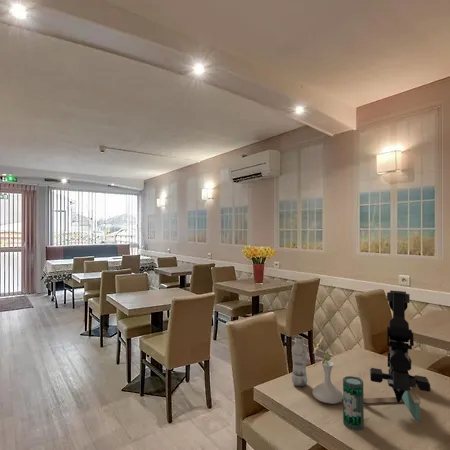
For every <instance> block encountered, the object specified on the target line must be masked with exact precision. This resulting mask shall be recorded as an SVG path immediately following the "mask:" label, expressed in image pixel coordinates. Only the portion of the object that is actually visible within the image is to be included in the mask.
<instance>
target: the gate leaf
mask: <svg viewBox="0 0 450 450" xmlns="http://www.w3.org/2000/svg"><path fill="white" fill-rule="evenodd" d="M410 388H411V387H410ZM402 399H403V401H404V403H403V404H405V406H406V408H407V409H408V411H409V413H410V415H411V416H412V418H413V420H414V421H415V422H417V423H418V422H419V423H420V419H421V418H420V417H421V416H420V414H421V413H420V412H421V411H420V408H421V407H420V404H421V399H420V398H419V396H418V395H417V393H416V392H415V390H414V389H413V388H411V389H410V390H408V391H405V392H404V394H403V396H402Z"/></svg>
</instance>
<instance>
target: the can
mask: <svg viewBox="0 0 450 450" xmlns="http://www.w3.org/2000/svg"><path fill="white" fill-rule="evenodd" d="M360 378H361V377H360ZM360 378H357V376H352V375H348V376H345V377H343V378H342V395H343V399H342V400H343V401H342V402H343V403H342V407H343V408H342V409H343V410H342V411H343V412H342V413H343V415H342V419H343V425H344V426H345V427H346V428H347V429H349V430H353V431H362V430H364V426H365V425H364V422H365V421H364V420H365V419H364V417H365V416H364V415H365V413H364V405H363V398H364V381H362V380H363V379H362V378H361V379H362V380H361V379H360Z"/></svg>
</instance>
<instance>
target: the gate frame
mask: <svg viewBox="0 0 450 450" xmlns="http://www.w3.org/2000/svg"><path fill="white" fill-rule="evenodd" d="M356 377H357V376H356ZM357 378H360V379H361V380H362V381H363V380H364V379H362V378H361V377H357ZM363 382H364V381H363ZM387 404H389V405H390V404H391V405H393V404H405V403H404V401H403V399H402V398H401V400H400V402H399V403H398V402H397V399H396V396H390V397H387V396H386V397H370V398H369V397H368V398H367V397H366V398H365V397H363V406H364V405H365V406H368V405H387Z"/></svg>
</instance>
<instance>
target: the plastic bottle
mask: <svg viewBox="0 0 450 450" xmlns="http://www.w3.org/2000/svg"><path fill="white" fill-rule="evenodd" d="M304 343H305V340H304V337H303V336H300V335H299V336H297V335H296V336H295V338H294V344H293V346H292V348H291V352H292V353H291V355H292V363H293V364H292V374H291V381H292V384H293V385H294V386H296V387H300V388H301V387H305V386H306V385H307V383H308V377H307V376H308V375H307V368H306V367H307V364H306V363H307V355H308V349H307V347H306V345H305V344H304Z"/></svg>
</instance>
